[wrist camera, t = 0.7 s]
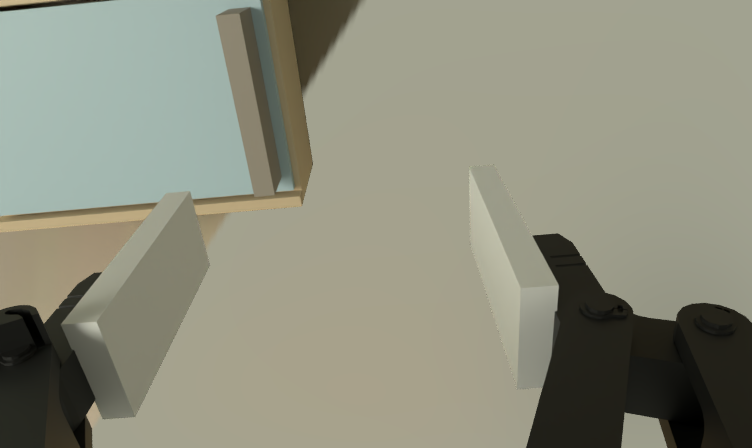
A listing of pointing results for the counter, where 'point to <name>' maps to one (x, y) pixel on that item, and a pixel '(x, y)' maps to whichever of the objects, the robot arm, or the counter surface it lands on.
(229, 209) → the wooden box
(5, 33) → the lid
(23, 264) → the counter surface
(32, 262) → the counter surface
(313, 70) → the counter surface
